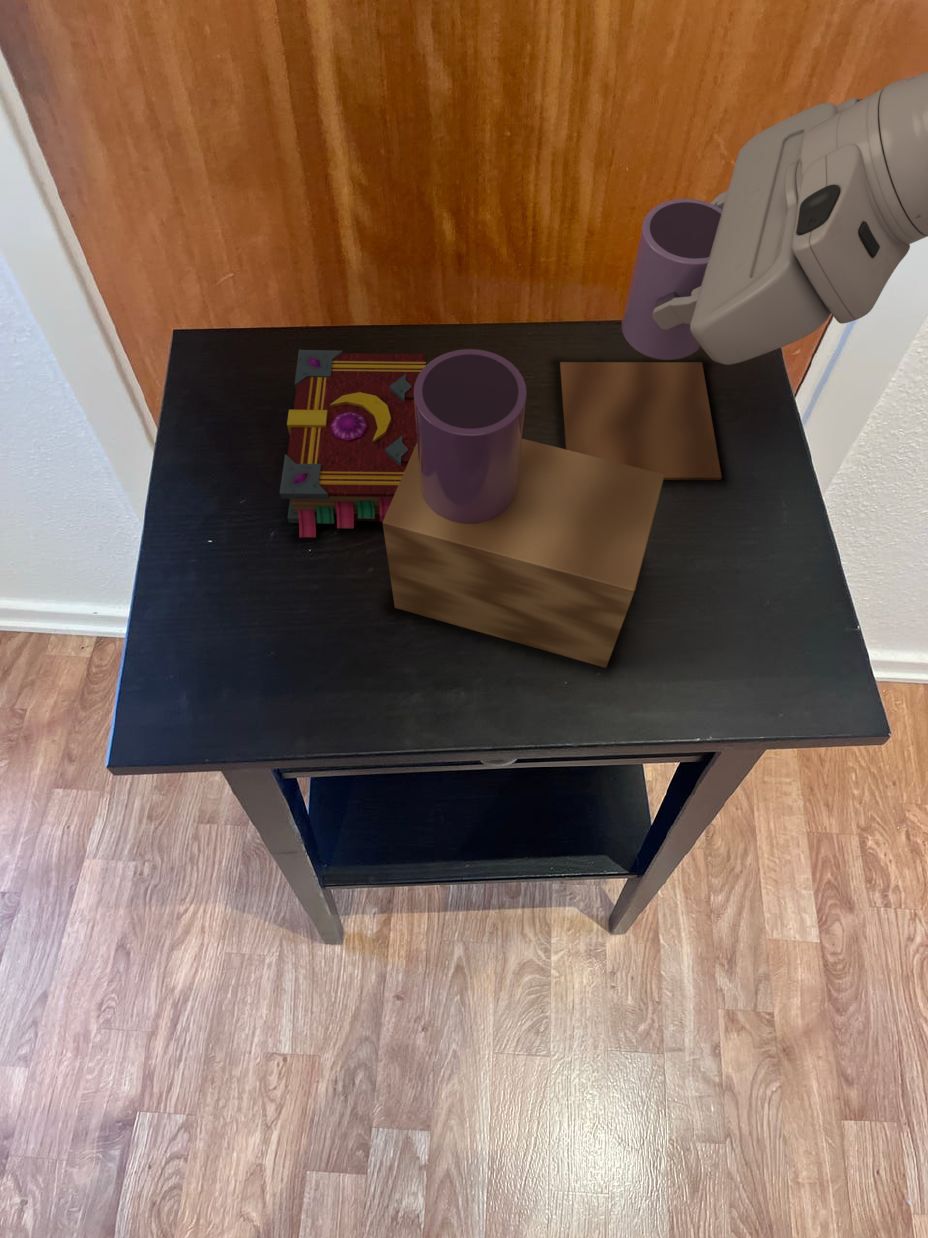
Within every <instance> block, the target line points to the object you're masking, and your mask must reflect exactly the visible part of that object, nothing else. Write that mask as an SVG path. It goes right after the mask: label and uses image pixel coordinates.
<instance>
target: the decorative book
mask: <svg viewBox="0 0 928 1238" xmlns="http://www.w3.org/2000/svg"><path fill="white" fill-rule="evenodd" d="M427 358H428V357H427V353H360V352H359V353H357V352H355V353H352V352H351V353H350V352H349V353H348V352H347V353H345V352H343V350H331V349H330V350H327V349H325V350H323V349H298V354H297V360H296V361H297V362H296V368H295V369H296V370H295V376H294V377H295V378H294V389H295V395H294V404H293V409H288V415H287V421H286V426H287V430H288V434H289V441H288V448H287V454H286V453H285V454H284V459H283V460H284V461H283V465H282V466H283V467H282V473H281V481H280V487H279V497H280V499H281V500H289V503H288V509H287V521H288V523H289V524H298V528H299V529H298V532H299V533H298V535H299V538H317V528H316V527H317V526H316V525H317V524H331V525H332V524H333V525H334V524H335V522H336V528H337V529H354V528H355V527H354V525H355V524H354V523H355V522H382V523H383V520H384V518H385V516H386V513H387V511H388V509H389V506H390V504H391V502H392V499H393V497H394V495H395V492H396V490H397V488H398V485H399V483H400V481H401V479H402V476H403V474H404V472H405V469H406V467H407V465H408V462H409V460H410V458H411V455H412V453H413V451H414V448H415V446H416V444H417V433H416V419H415V404H414V385H415V382H416V379H417V377H418V375H419V374H420V372H421V371H422V369H423V368H424V367H425V366H426V365H427V364H428V361H427Z"/></svg>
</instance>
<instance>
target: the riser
mask: <svg viewBox="0 0 928 1238" xmlns="http://www.w3.org/2000/svg"><path fill="white" fill-rule="evenodd" d="M664 476H665V475H664V474H661V473H657V472H653V471H649V470H645V469H641V468H637V467H633V466H629V465H625V464H621V463H617V462H613V461H609V460H605V459H601V458H597V457H593V456H589V455H585V454H582V453H578V452H574V451H570V450H566V448H562V447H558V446H553V445H549V444H545V443H542V442H538V441H534V440H529V439H525V438H522V447H521V457H520V468H519V478H518V488H517V493H516V495H515V498H514V500H513V502H512V503H511V505H510V506H509V507H508V508H507V509H506V510H505V511H504V512H503V513H501V514H500V515H498V516H497V517H495V518H493V519H490V520H488V521H485V522H480V523H472V524H466V523H458V522H454V521H450V520H448V519H445V518H443V517H441V516H440V515H438V514H437V513H435V512H434V511H433V510H432V509H431V508H430V507H429V506H428V504H427V503H426V502H425V500H424V498H423V496H422V493H421V489H420V476H419V462H418V447H417V444H416V446H415V448H414V451H413V453H412V455H411V458H410V460H409V462H408V465H407V467H406V469H405V472H404V474H403V476H402V479H401V481H400V483H399V485H398V488H397V490H396V492H395V495H394V497H393V499H392V502H391V504H390V506H389V509H388V511H387V513H386V516H385V518H384V520H383V522H382V528H383V535H384V542H385V549H386V556H387V563H388V569H389V576H390V583H391V591H392V597H393V604H394V608H395V609H398V610H401V611H403V612H404V611H405V612H409V613H412V614H415V615H419V616H422V617H425V618H429V619H433V620H435V621H440V622H443V623H447V624H450V625H453V626H457V627H461V628H464V629H467V630H471V631H474V632H479V633H481V634H484V635H489V636H492V637H496V638H500V639H502V640H507V641H510V642H513V643H517V644H521V645H524V646H528V647H530V648H535V649H538V650H541V651H544V652H548V653H551V654H556V655H559V656H562V657H567V658H570V659H572V660H576V661H580V662H584V663H587V664H591V665H595V666H598V667H601V668H605V669H606V668H608V664H609V661H610V659H611V656H612V654H613V651H614V648H615V646H616V643H617V640H618V638H619V634H620V633H621V630H622V626H623V625H624V621H625V619H626V616H627V614H628V611H629V608H630V605H631V602H632V599H633V597H634V595H635V592H636V588H637V584H638V581H639V578H640V577H639V576H640V572H641V570H642V569H641V568H642V565H643V561H644V557H645V553H646V550H647V545H648V541H649V538H650V534H651V530H652V526H653V522H654V519H655V515H656V512H657V511H656V510H657V506H658V503H659V499H660V495H661V492H662V487H663V483H664V481H665V480H664Z"/></svg>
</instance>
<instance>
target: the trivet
mask: <svg viewBox="0 0 928 1238" xmlns="http://www.w3.org/2000/svg"><path fill="white" fill-rule="evenodd" d="M559 372H560V373H559V374H560V387H561V400H562V401H561V402H562V415H563V428H564V443H565V444H564V445H565V449H566V450H570V451H574V452H578V453H582V454H585V455H589V456H593V457H597V458H601V459H605V460H609V461H613V462H617V463H621V464H625V465H629V466H633V467H637V468H641V469H645V470H649V471H653V472H657V473H661V474H664V475H665V476H664V480H663V481H721V480H722V471H721V466H720V464H721V463H720V460H719V454H718V448H717V441H716V436H715V430H714V423H713V419H712V418H713V417H712V413H711V407H710V401H709V395H708V389H707V383H706V378H705V371H704V365H703V362H702V361H700V362H699V361H692V362H691V361H690V362H689V361H683V362H681V361H679V362H678V361H654V362H653V361H648V362H647V361H560V362H559Z"/></svg>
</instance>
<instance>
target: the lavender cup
mask: <svg viewBox="0 0 928 1238" xmlns="http://www.w3.org/2000/svg"><path fill="white" fill-rule="evenodd" d="M710 203H711V202H707V201H704V200H700V199H695V198H676V199H675V198H674V199H671V200H667V201H663V202H661V203H659V204H657V205H655V206H654V207H653V208H651V209H650V210H649V212H647V213H646V215H645V216H644V218H643V221H642V225H641V230H640V234H639V240H638V242H637V243H638V244H637V249H636V253H635V257H634V263H633V267H632V272H631V276H630V280H629V281H630V282H629V287H628V289H627V290H628V291H627V296H626V300H625V304H624V305H625V306H624V309H623V314H622V318H621V333H622V335H623V337H624V339H625V340H626V342H627V343H628V344H629V346H631V348H633V350H635V351H637V352H638V353H640V354H641V355H644V356H645V357H649V358H652V359H656V360H662V361H674V360H675V361H676V360H680V359H683V358H686V357H690V356H691V355H693V354H694V353H696V352H697V351H698V350H699V349H700V348H702V347H701V346H700V344H699V343H698V342H697V340H696V339H695V337H694V336H693V335H692V333H691V331H690V324H684V323H682V324H680V325H678V326H676V327H673V328H671V329H669V330H663V329H661V328H660V327H659V326H658V324H657V323H656V322H655V321H654V319H653V318H652V314H653V311H654V308H655V305H656V302H657V300H658V299H659V298H660V297H665V296H666V295H667V294H669V293H672V292H674V291H675V292H676V293H677V294H678V295H679V297H690V296H691V293H692V291H693V290H694V289H696V288H698V287H700V286H701V285H702V281H703V278H704V274H705V271H706V267H707V263H708V260H709V256H710V253H711V249H712V245H713V242H714V238H715V235H716V231H717V228H718V224H719V220H720V217H721V213H722V209H720V208H719V207H717V206H715V205H713V204H710Z"/></svg>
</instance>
